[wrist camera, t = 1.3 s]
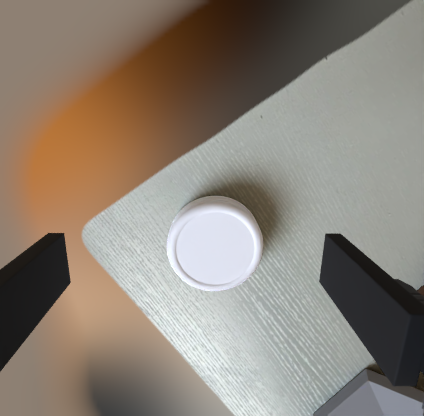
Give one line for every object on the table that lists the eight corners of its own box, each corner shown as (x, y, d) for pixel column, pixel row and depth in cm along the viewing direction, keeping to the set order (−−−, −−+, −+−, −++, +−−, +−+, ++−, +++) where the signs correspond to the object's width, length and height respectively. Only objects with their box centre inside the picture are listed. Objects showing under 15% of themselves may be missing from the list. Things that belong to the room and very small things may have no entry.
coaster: (240, 180, 33) (245, 187, 29) (270, 259, 35) (277, 274, 32) (155, 214, 34) (149, 224, 30) (190, 288, 36) (188, 305, 33)
